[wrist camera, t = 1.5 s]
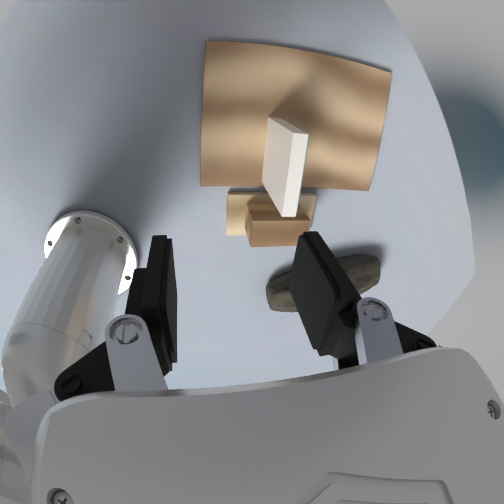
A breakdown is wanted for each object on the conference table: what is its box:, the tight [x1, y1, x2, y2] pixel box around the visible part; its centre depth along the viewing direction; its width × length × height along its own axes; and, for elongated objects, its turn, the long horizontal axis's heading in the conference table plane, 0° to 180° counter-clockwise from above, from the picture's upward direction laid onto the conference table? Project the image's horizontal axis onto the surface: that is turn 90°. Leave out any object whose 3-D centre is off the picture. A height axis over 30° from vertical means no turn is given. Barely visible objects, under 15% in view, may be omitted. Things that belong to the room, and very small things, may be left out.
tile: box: [262, 117, 309, 217], centre depth 25 cm, size 7×1×8 cm, turn 175°
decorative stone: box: [266, 256, 380, 312], centre depth 39 cm, size 17×6×4 cm, turn 95°
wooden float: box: [226, 192, 316, 247], centre depth 31 cm, size 5×10×5 cm, turn 86°
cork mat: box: [200, 41, 392, 191], centre depth 27 cm, size 15×20×1 cm
